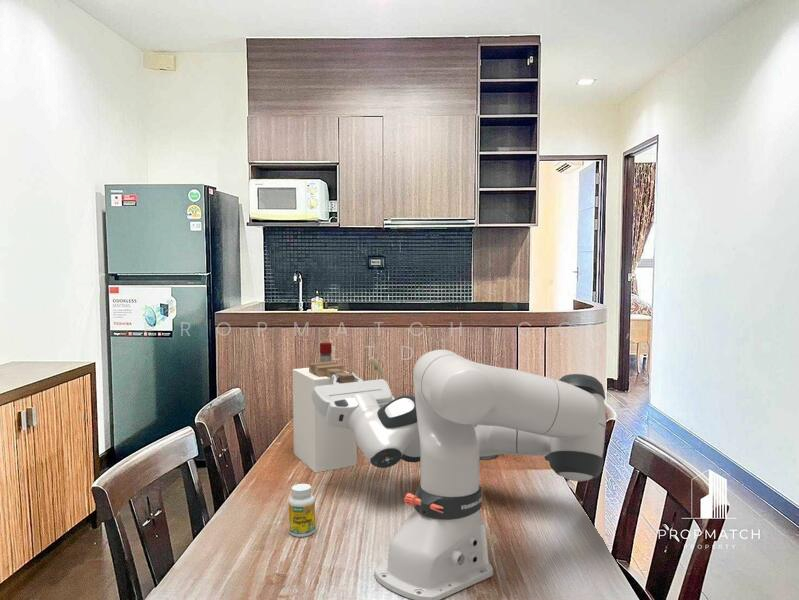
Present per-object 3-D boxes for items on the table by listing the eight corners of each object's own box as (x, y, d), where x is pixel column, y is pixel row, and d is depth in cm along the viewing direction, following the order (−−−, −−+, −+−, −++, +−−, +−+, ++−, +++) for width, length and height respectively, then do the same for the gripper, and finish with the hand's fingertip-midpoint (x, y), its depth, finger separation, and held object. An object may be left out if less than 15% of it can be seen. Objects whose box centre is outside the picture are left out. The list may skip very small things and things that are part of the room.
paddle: (361, 382, 155) (361, 372, 154) (336, 385, 151) (335, 375, 151) (332, 370, 172) (332, 361, 172) (309, 372, 169) (309, 363, 169)
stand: (356, 465, 165) (355, 375, 164) (315, 472, 160) (314, 379, 158) (332, 447, 181) (331, 365, 180) (293, 453, 176) (292, 369, 174)
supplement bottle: (314, 525, 128) (313, 481, 128) (316, 536, 123) (315, 490, 122) (288, 527, 127) (287, 483, 126) (289, 539, 122) (289, 492, 121)
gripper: (402, 397, 150) (380, 362, 160) (325, 406, 140) (307, 369, 150) (396, 415, 153) (375, 380, 163) (320, 426, 143) (303, 388, 153)
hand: (342, 375), depth 157 cm, fingers closed on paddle, 3 cm apart
